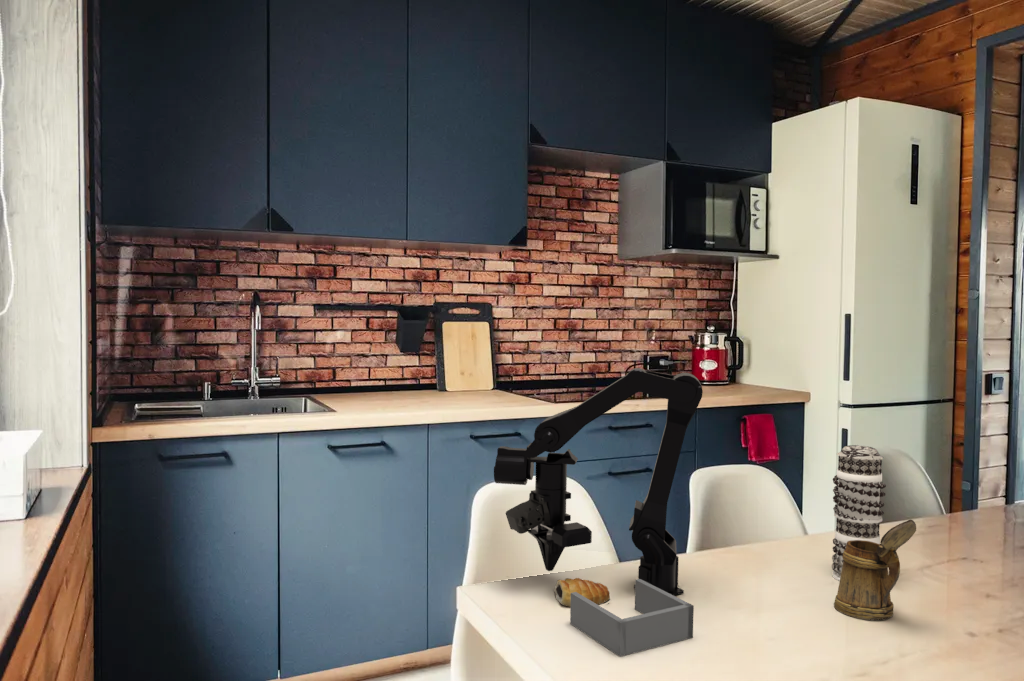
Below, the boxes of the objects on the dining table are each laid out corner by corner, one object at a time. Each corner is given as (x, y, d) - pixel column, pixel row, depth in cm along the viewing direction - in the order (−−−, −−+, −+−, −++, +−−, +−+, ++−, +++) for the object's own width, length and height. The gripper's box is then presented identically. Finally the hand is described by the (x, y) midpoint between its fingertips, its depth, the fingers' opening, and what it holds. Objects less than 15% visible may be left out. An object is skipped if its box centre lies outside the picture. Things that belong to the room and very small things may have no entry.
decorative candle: (834, 584, 142) (838, 450, 141) (825, 567, 151) (830, 442, 150) (887, 589, 140) (892, 453, 138) (876, 572, 149) (880, 444, 147)
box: (639, 607, 129) (639, 578, 129) (692, 637, 118) (693, 605, 118) (570, 623, 122) (570, 592, 122) (619, 656, 111) (620, 622, 111)
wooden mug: (885, 635, 120) (890, 522, 119) (822, 603, 132) (826, 500, 131) (928, 628, 123) (932, 517, 122) (862, 597, 135) (866, 497, 134)
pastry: (601, 592, 137) (602, 571, 137) (615, 606, 130) (616, 584, 130) (551, 595, 135) (552, 574, 134) (562, 611, 128) (563, 588, 128)
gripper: (488, 480, 144) (487, 561, 145) (539, 503, 128) (538, 594, 129) (538, 474, 150) (537, 553, 150) (594, 496, 133) (592, 584, 134)
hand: (549, 570), depth 141 cm, fingers closed
